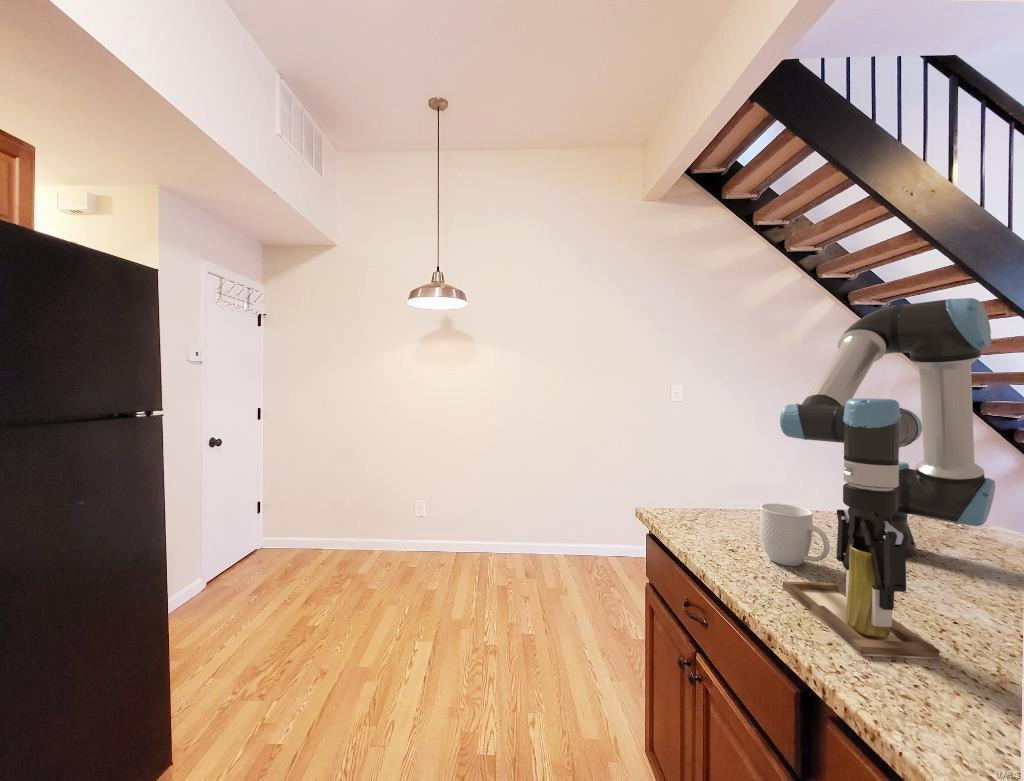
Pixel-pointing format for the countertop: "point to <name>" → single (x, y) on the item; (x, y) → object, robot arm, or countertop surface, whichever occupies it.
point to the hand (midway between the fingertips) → (867, 614)
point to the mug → (789, 534)
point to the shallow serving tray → (831, 611)
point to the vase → (862, 593)
